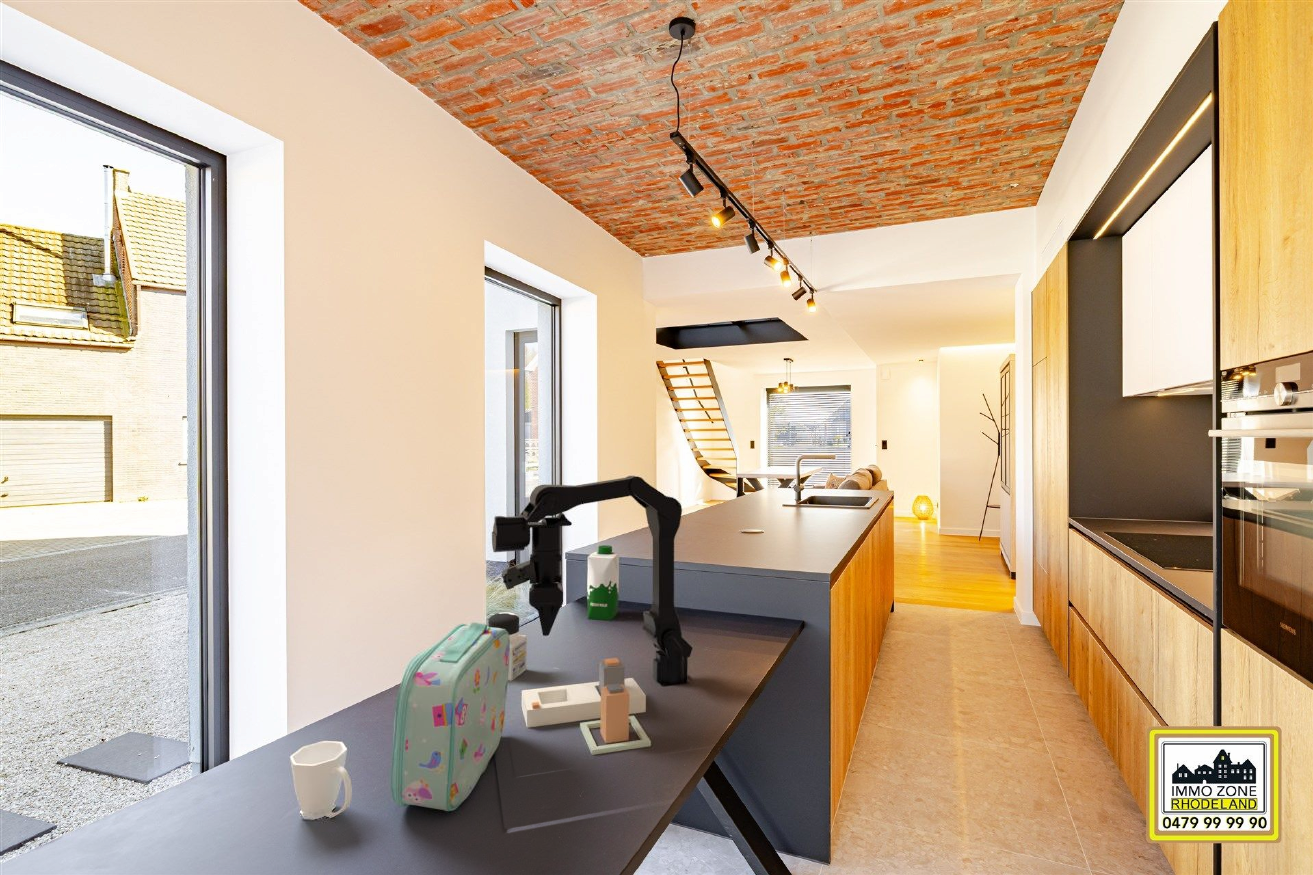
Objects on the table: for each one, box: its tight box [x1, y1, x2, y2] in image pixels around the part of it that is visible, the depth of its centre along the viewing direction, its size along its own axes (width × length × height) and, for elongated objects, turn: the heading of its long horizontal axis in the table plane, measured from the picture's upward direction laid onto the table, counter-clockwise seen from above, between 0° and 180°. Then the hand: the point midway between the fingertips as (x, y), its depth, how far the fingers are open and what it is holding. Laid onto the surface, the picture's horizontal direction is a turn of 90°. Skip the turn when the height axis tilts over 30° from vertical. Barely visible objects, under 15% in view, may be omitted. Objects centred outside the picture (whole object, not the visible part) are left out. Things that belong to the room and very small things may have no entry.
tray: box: [579, 715, 652, 756], centre depth 106 cm, size 10×10×1 cm
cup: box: [289, 740, 353, 819], centre depth 84 cm, size 7×10×8 cm
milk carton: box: [586, 544, 620, 621], centre depth 179 cm, size 9×9×20 cm
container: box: [487, 612, 528, 681], centre depth 134 cm, size 8×8×13 cm
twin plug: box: [598, 657, 626, 696], centre depth 118 cm, size 4×4×9 cm
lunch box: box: [390, 622, 510, 812], centre depth 95 cm, size 27×10×21 cm, turn 178°
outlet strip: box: [521, 677, 647, 728], centre depth 116 cm, size 22×9×4 cm, turn 108°
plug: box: [599, 683, 630, 744], centre depth 106 cm, size 4×4×9 cm
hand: (545, 628), depth 121 cm, fingers open, 9 cm apart
